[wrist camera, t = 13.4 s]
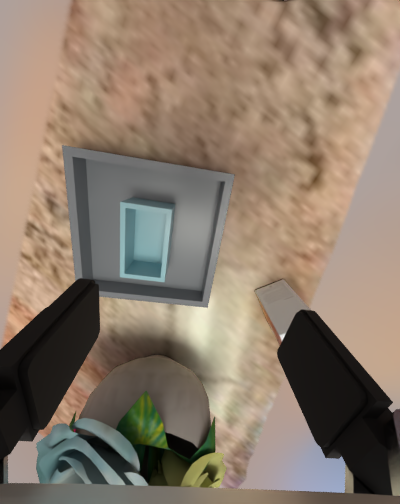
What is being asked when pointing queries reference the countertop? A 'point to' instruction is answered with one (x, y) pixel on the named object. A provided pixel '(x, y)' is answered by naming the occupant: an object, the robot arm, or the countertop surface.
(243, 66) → the countertop surface
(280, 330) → the small box
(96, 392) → the flower arrangement
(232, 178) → the gray square tray
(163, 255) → the small crate
